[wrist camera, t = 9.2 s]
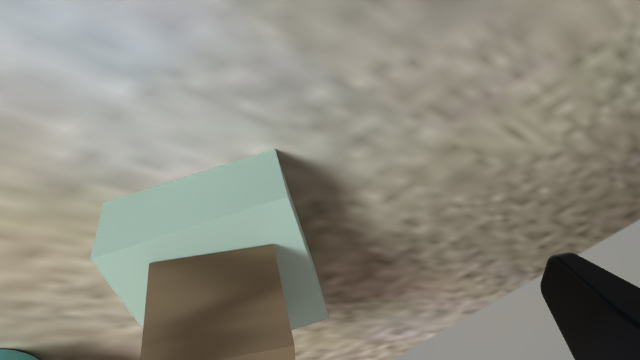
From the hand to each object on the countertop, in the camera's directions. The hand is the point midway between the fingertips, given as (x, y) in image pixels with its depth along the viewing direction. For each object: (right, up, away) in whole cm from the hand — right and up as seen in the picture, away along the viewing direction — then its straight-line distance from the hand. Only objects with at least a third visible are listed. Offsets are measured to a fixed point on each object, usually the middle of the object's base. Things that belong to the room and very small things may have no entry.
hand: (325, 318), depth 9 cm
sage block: (-5, 0, +15) cm, 16 cm away
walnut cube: (-4, -2, +12) cm, 13 cm away
